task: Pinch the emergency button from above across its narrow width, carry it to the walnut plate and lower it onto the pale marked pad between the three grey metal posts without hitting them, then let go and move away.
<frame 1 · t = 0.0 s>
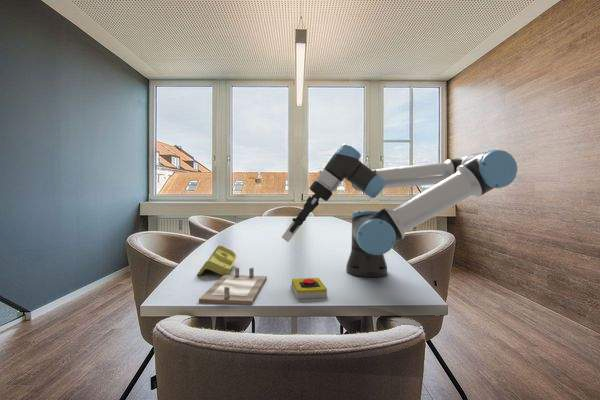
hand: (287, 236, 108), 15 cm above the table, tool tilted 35°, fingers open, 13 cm apart
nest plate: (236, 289, 99), on the table
plastic component: (219, 270, 122), on the table
emergency button: (308, 294, 98), on the table
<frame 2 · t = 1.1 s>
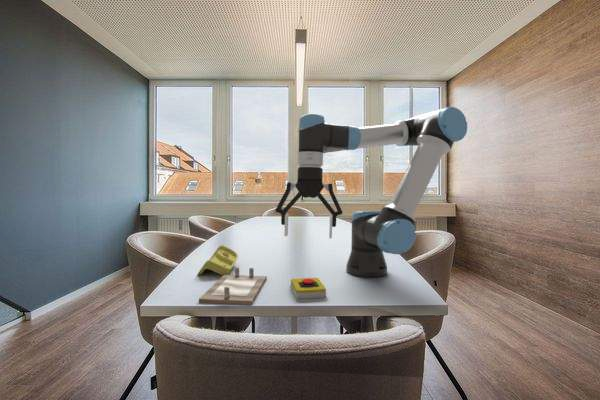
hand: (308, 236, 97), 17 cm above the table, tool pointing down, fingers open, 13 cm apart
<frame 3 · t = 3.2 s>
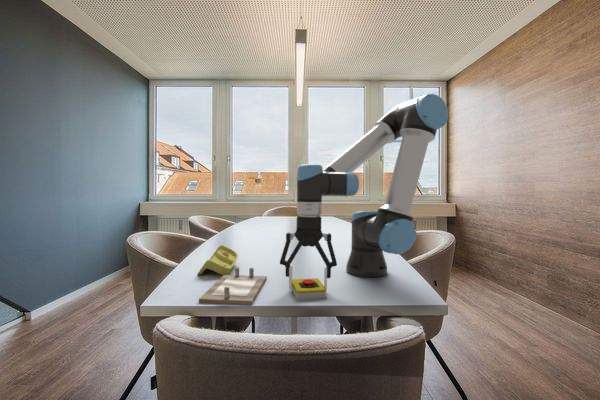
hand: (307, 287, 97), 1 cm above the table, tool pointing down, fingers closed on emergency button, 10 cm apart
emergency button: (307, 294, 98), on the table, touching gripper
everything else where it was.
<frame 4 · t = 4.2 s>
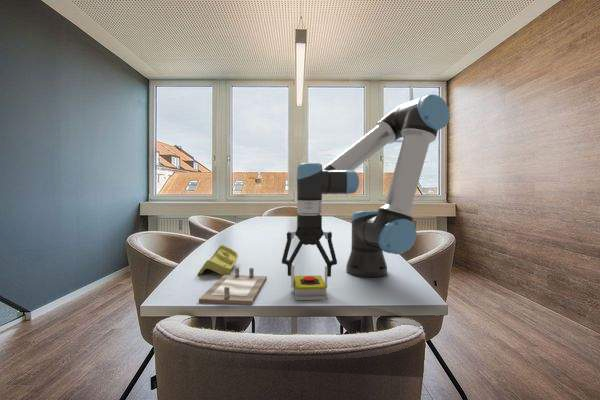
hand: (309, 286, 97), 2 cm above the table, tool pointing down, fingers closed on emergency button, 9 cm apart
emergency button: (309, 291, 98), on the table, touching gripper
everything else where it was.
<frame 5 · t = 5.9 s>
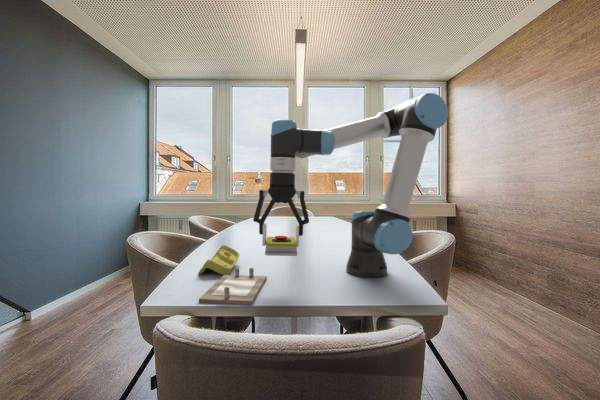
hand: (280, 245, 97), 14 cm above the table, tool pointing down, fingers closed on emergency button, 9 cm apart
emergency button: (280, 250, 97), point 13 cm above the table, touching gripper
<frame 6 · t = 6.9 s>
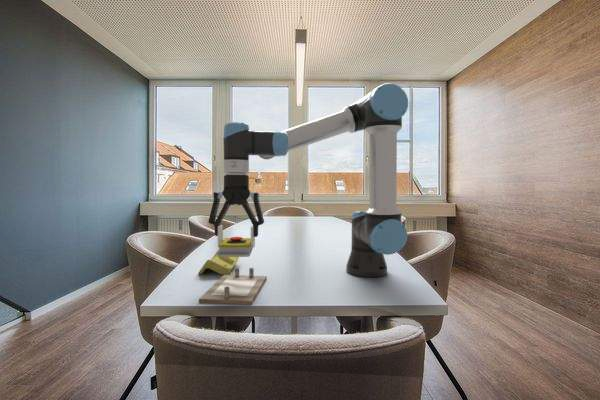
hand: (236, 246, 98), 13 cm above the table, tool pointing down, fingers closed on emergency button, 9 cm apart
emergency button: (236, 251, 99), point 12 cm above the table, touching gripper
when the fingers open (3 cm above the table, at t = 9.6 s): emergency button stays where it is, resting on nest plate.
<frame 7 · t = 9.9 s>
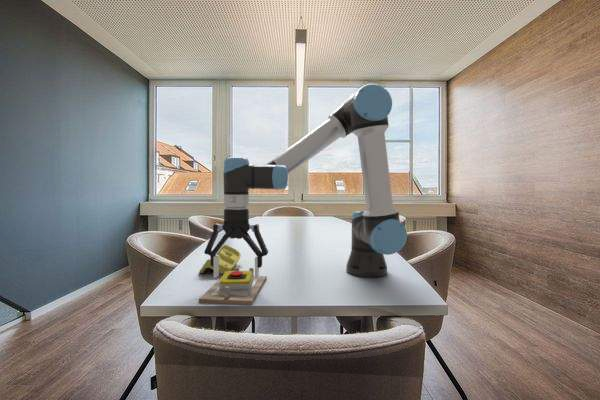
hand: (236, 277, 99), 4 cm above the table, tool pointing down, fingers open, 12 cm apart
emergency button: (237, 286, 99), point 1 cm above the table, touching nest plate
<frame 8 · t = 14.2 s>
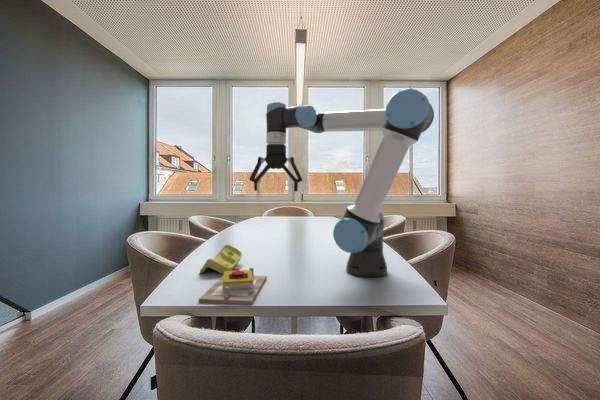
hand: (275, 199, 123), 27 cm above the table, tool pointing down, fingers open, 13 cm apart
at the end: emergency button 0.9 cm off-centre on the nest plate, point 0.9 cm above the nest plate's base; emergency button tilted 0°; the gripper is holding nothing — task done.
